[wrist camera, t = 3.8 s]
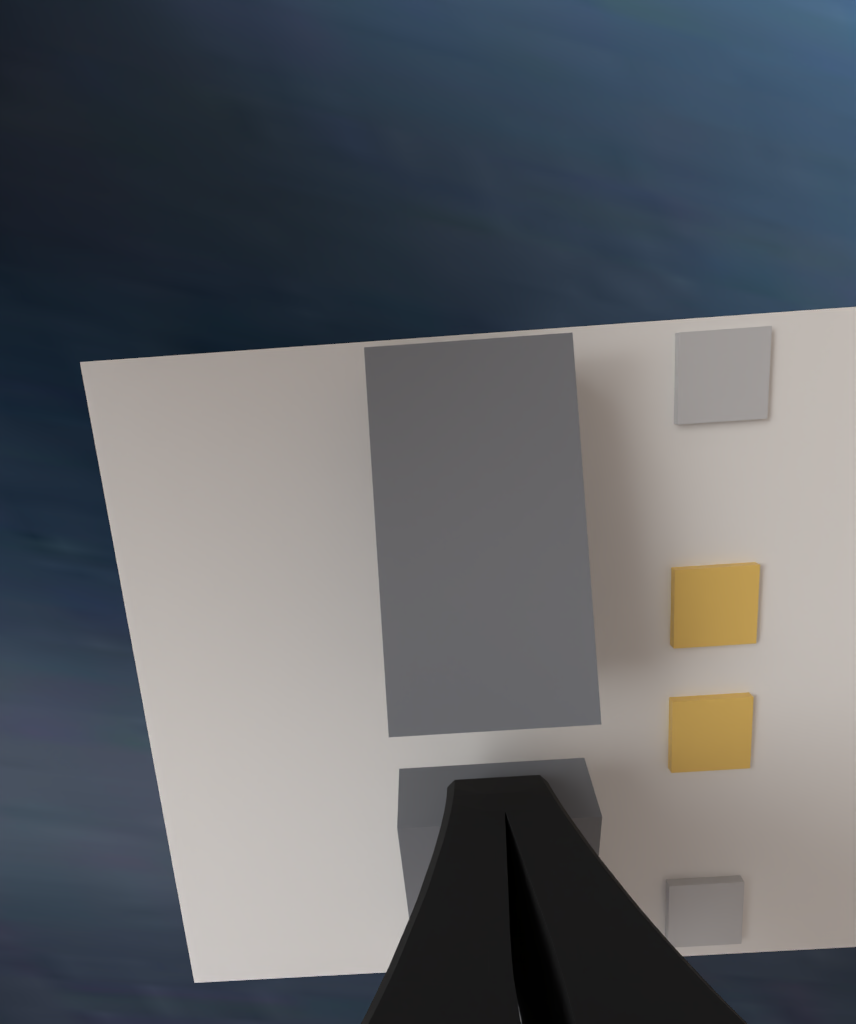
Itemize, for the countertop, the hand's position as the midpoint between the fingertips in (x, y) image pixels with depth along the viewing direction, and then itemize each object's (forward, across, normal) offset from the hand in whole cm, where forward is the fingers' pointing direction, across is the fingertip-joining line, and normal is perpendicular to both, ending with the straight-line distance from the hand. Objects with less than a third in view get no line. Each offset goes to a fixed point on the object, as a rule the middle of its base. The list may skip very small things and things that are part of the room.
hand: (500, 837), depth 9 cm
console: (+5, -1, -1) cm, 5 cm away
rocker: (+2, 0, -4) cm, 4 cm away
